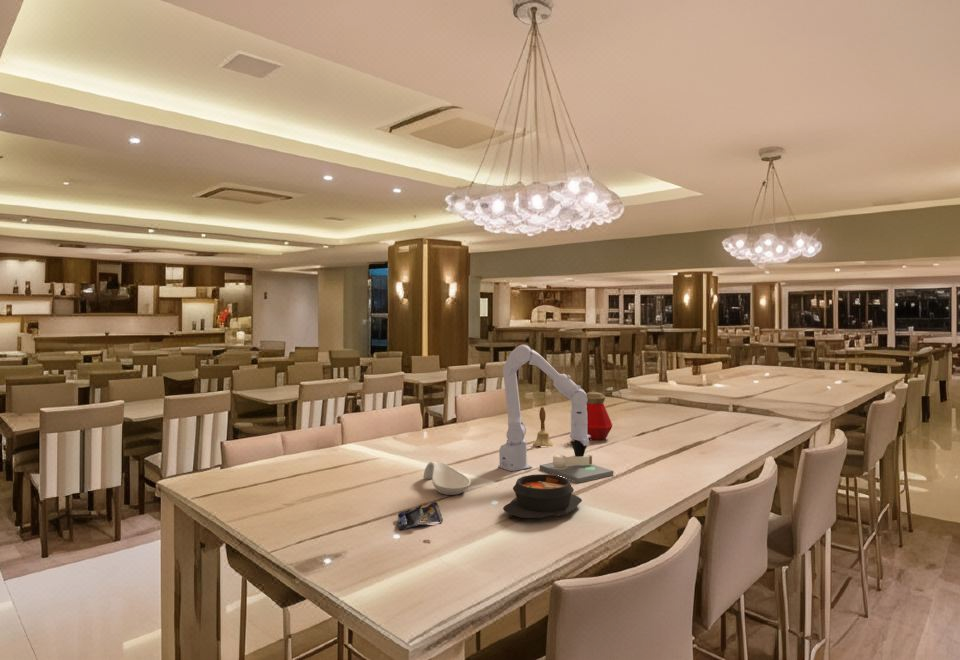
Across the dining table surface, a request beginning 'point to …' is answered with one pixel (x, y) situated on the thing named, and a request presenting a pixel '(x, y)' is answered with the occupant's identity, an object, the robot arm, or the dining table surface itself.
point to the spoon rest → (446, 478)
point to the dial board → (578, 471)
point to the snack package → (419, 516)
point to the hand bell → (542, 432)
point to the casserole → (542, 497)
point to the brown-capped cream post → (571, 460)
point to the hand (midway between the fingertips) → (579, 461)
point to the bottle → (597, 417)
